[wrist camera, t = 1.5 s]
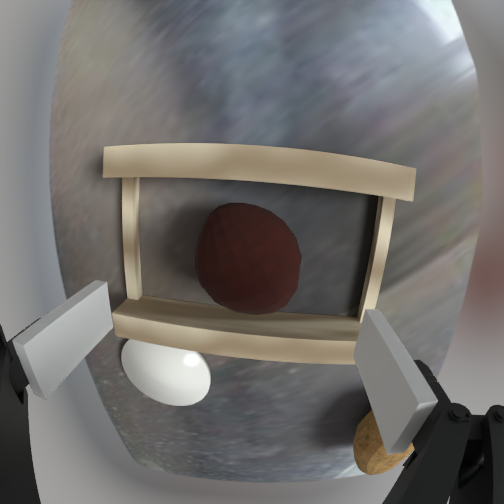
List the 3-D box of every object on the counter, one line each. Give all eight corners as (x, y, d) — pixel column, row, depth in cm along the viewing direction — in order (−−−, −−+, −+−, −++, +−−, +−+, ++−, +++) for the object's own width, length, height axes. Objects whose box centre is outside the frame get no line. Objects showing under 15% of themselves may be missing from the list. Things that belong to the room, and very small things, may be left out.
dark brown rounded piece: (270, 180, 23) (268, 183, 16) (313, 274, 25) (327, 315, 18) (188, 220, 25) (154, 241, 18) (235, 307, 27) (221, 355, 20)
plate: (117, 322, 29) (114, 325, 28) (210, 338, 28) (209, 343, 27) (132, 390, 32) (129, 394, 31) (211, 408, 31) (210, 412, 30)
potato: (332, 443, 32) (338, 487, 24) (371, 374, 28) (390, 424, 20) (390, 441, 32) (401, 480, 24) (434, 374, 28) (459, 415, 20)
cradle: (129, 149, 23) (104, 146, 19) (393, 168, 22) (416, 168, 18) (135, 314, 28) (115, 335, 24) (361, 338, 27) (373, 364, 22)
